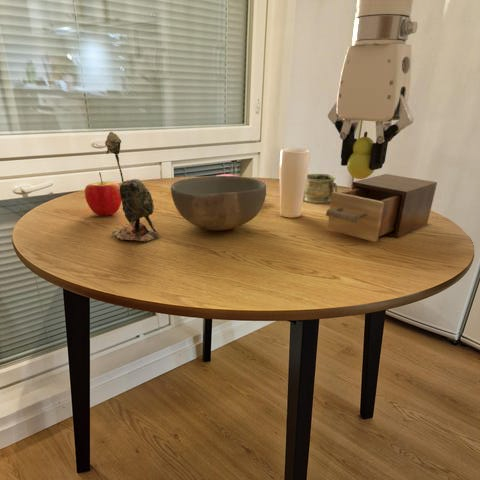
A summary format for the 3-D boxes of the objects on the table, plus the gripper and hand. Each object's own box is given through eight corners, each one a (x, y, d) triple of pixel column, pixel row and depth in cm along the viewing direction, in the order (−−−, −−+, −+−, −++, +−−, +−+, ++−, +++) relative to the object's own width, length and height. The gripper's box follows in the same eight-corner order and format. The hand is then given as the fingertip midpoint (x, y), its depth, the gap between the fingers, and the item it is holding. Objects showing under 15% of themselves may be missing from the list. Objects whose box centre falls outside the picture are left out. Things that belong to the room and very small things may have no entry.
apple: (86, 220, 97) (78, 174, 93) (90, 210, 105) (83, 168, 100) (123, 218, 99) (117, 174, 94) (124, 209, 106) (119, 167, 101)
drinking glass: (308, 214, 105) (314, 149, 98) (297, 220, 100) (303, 153, 92) (283, 210, 108) (288, 147, 101) (271, 216, 103) (275, 150, 95)
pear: (378, 178, 71) (386, 131, 67) (364, 182, 68) (371, 133, 65) (354, 174, 74) (360, 129, 70) (340, 178, 71) (345, 131, 67)
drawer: (361, 247, 82) (368, 207, 78) (313, 233, 89) (317, 196, 85) (406, 228, 93) (413, 192, 89) (360, 217, 100) (365, 183, 96)
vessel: (344, 201, 117) (347, 177, 114) (326, 206, 112) (329, 182, 109) (309, 193, 124) (311, 171, 121) (290, 198, 119) (292, 175, 116)
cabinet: (397, 237, 90) (406, 191, 85) (346, 224, 98) (352, 181, 93) (427, 224, 99) (437, 182, 94) (378, 213, 107) (385, 173, 102)
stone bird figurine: (132, 249, 81) (120, 136, 71) (107, 234, 89) (93, 130, 79) (169, 241, 86) (162, 134, 76) (142, 227, 93) (133, 128, 83)
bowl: (262, 216, 103) (263, 173, 98) (266, 244, 85) (269, 193, 80) (179, 214, 103) (177, 171, 98) (166, 242, 85) (163, 191, 80)
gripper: (449, 32, 58) (420, 170, 67) (343, 39, 69) (331, 158, 78) (425, 27, 54) (398, 177, 63) (316, 35, 64) (306, 163, 73)
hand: (361, 165), depth 70 cm, fingers closed on pear, 4 cm apart
